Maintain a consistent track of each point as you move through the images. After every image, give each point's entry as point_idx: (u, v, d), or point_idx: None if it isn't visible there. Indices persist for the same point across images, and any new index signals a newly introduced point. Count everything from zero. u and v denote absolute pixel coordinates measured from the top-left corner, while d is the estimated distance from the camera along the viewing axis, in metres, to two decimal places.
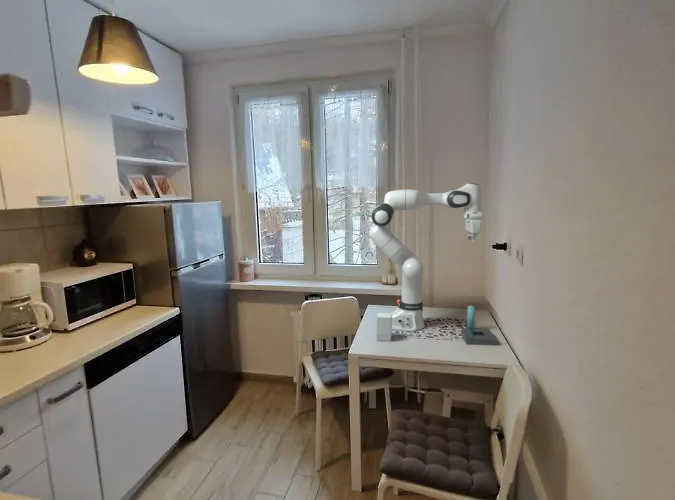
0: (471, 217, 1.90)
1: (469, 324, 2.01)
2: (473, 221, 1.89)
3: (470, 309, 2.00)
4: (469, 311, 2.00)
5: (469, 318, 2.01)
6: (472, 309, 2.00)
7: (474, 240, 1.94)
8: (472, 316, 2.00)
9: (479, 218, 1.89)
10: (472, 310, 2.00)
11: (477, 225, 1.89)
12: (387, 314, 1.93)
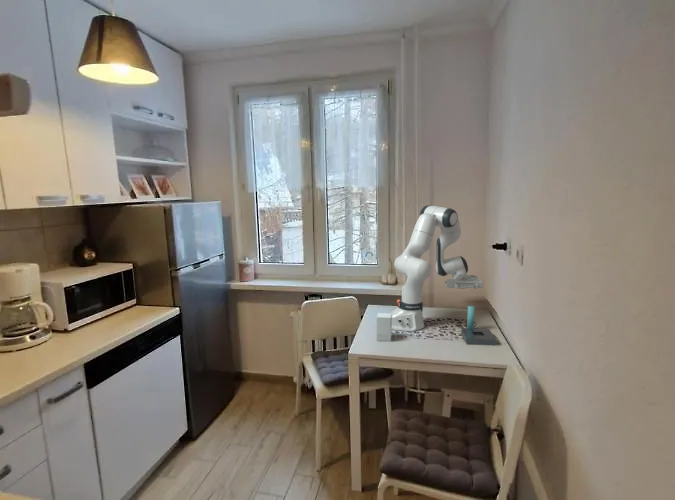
0: (477, 277, 2.24)
1: (469, 324, 2.01)
2: None
3: (470, 309, 2.00)
4: (469, 311, 2.00)
5: (469, 318, 2.01)
6: (472, 309, 2.00)
7: None
8: (472, 316, 2.00)
9: None
10: (472, 310, 2.00)
11: None
12: (387, 314, 1.93)
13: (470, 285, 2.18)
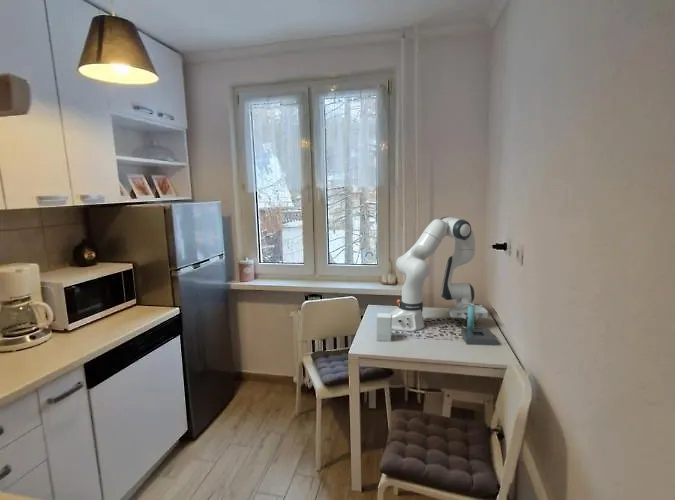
0: None
1: (469, 324, 2.01)
2: None
3: (470, 309, 2.00)
4: (469, 311, 2.00)
5: (469, 318, 2.01)
6: (472, 309, 2.00)
7: None
8: (472, 316, 2.00)
9: None
10: (472, 310, 2.00)
11: None
12: (387, 314, 1.93)
13: None
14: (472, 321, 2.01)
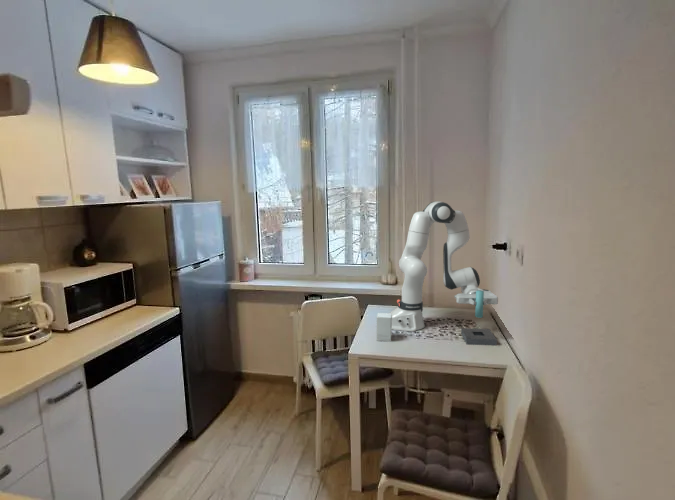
0: None
1: (478, 310, 1.87)
2: None
3: (479, 294, 1.85)
4: (478, 296, 1.86)
5: (478, 304, 1.86)
6: (481, 294, 1.85)
7: None
8: (481, 301, 1.86)
9: None
10: (481, 295, 1.85)
11: None
12: (387, 314, 1.93)
13: (483, 301, 1.92)
14: (481, 307, 1.86)
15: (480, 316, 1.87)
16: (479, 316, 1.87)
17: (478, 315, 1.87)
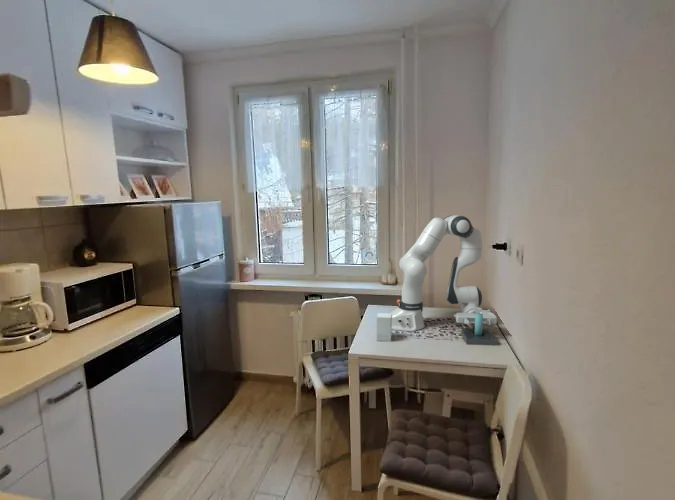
0: None
1: (477, 333, 1.88)
2: None
3: (478, 317, 1.87)
4: (477, 319, 1.87)
5: (477, 327, 1.88)
6: (480, 317, 1.87)
7: None
8: (480, 325, 1.87)
9: None
10: (480, 318, 1.87)
11: None
12: (387, 314, 1.93)
13: None
14: (480, 330, 1.88)
15: None
16: None
17: None
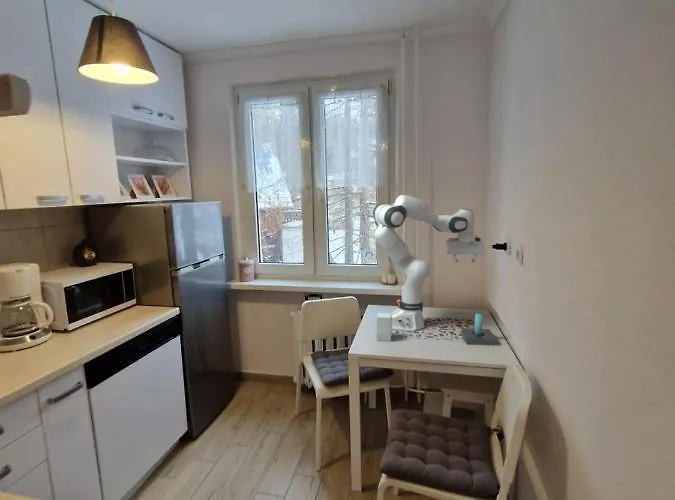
0: None
1: (477, 333, 1.88)
2: (482, 243, 2.09)
3: (478, 317, 1.87)
4: (477, 319, 1.87)
5: (477, 327, 1.88)
6: (480, 317, 1.87)
7: None
8: (480, 325, 1.87)
9: None
10: (480, 318, 1.87)
11: None
12: (387, 314, 1.93)
13: None
14: (480, 330, 1.88)
15: None
16: None
17: None
